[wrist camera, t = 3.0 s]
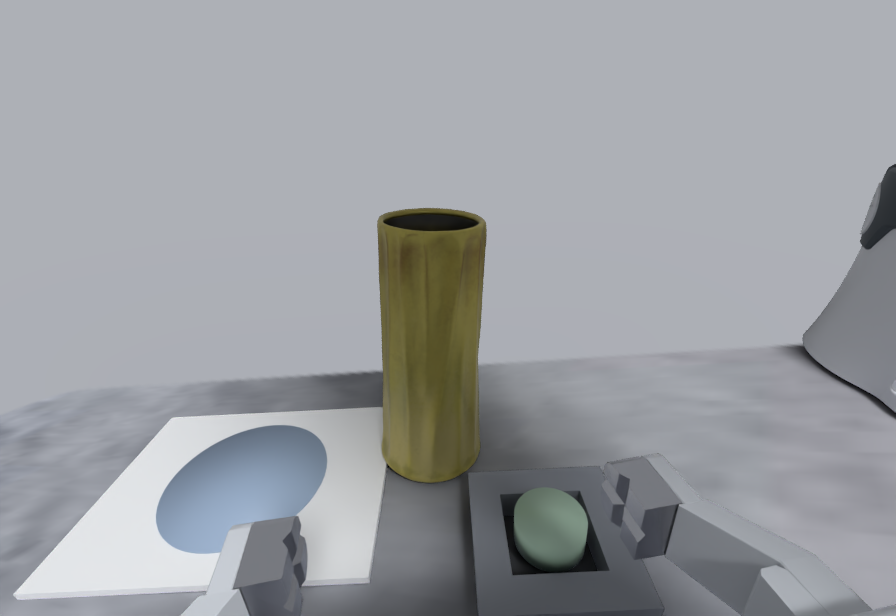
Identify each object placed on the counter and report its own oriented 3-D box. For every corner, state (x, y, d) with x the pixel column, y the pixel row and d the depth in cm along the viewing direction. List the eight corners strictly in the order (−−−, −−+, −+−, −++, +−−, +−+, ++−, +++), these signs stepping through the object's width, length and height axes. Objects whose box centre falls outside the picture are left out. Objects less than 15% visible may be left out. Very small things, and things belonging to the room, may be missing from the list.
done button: (573, 506, 20) (575, 485, 20) (595, 570, 17) (598, 549, 17) (508, 509, 20) (509, 488, 20) (519, 574, 18) (521, 553, 17)
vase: (460, 499, 22) (472, 241, 16) (362, 466, 24) (340, 225, 18) (491, 427, 27) (508, 212, 21) (408, 405, 29) (403, 202, 23)
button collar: (596, 487, 23) (599, 465, 22) (657, 632, 16) (664, 608, 16) (469, 493, 23) (468, 472, 22) (480, 640, 16) (479, 617, 16)
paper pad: (396, 410, 29) (395, 404, 29) (369, 583, 18) (368, 575, 18) (174, 421, 30) (171, 416, 29) (17, 599, 19) (12, 593, 18)
